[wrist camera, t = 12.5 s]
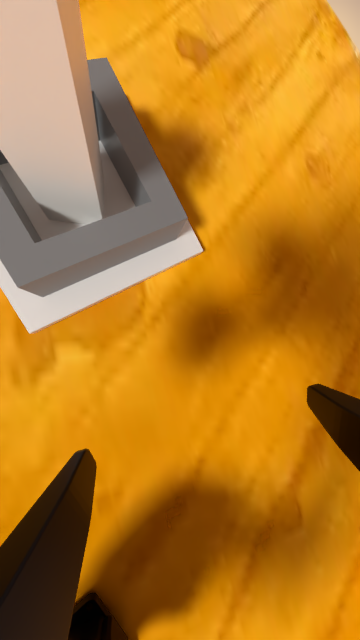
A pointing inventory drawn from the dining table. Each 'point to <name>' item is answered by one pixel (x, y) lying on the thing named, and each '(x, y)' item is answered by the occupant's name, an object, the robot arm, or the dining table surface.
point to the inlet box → (100, 236)
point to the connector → (50, 108)
